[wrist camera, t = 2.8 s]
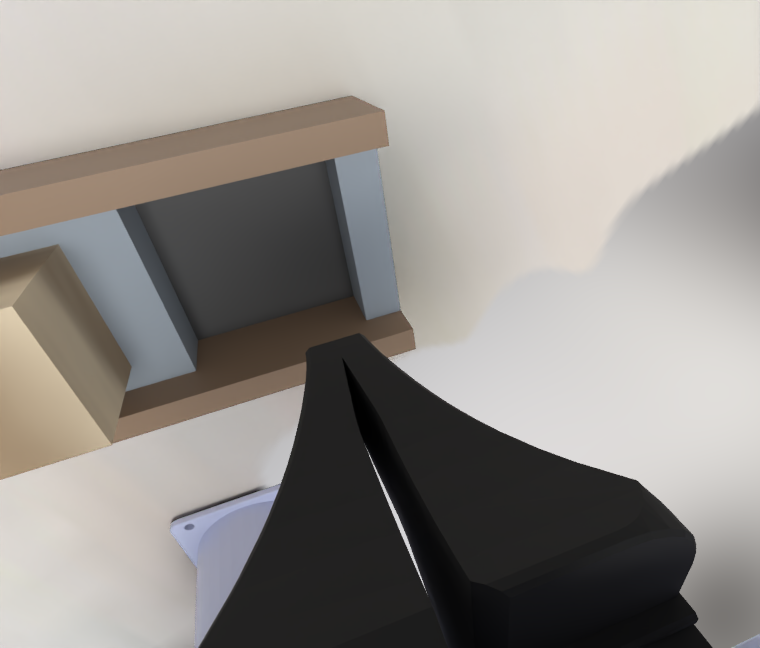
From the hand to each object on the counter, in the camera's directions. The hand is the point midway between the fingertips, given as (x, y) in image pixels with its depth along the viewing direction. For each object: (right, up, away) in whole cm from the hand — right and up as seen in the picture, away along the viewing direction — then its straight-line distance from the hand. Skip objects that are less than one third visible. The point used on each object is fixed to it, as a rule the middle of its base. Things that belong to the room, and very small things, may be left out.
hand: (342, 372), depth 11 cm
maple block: (-11, +1, +4) cm, 12 cm away
